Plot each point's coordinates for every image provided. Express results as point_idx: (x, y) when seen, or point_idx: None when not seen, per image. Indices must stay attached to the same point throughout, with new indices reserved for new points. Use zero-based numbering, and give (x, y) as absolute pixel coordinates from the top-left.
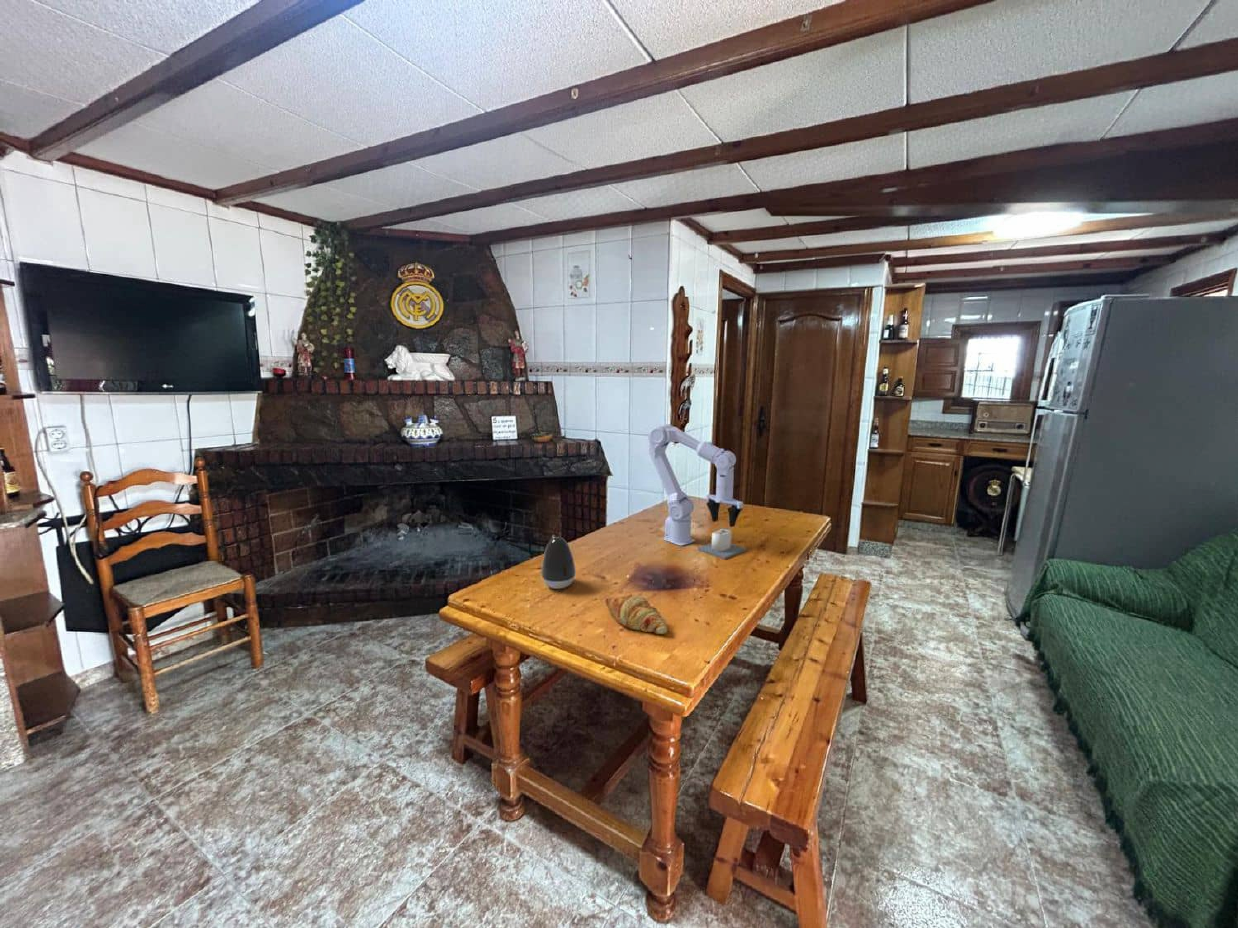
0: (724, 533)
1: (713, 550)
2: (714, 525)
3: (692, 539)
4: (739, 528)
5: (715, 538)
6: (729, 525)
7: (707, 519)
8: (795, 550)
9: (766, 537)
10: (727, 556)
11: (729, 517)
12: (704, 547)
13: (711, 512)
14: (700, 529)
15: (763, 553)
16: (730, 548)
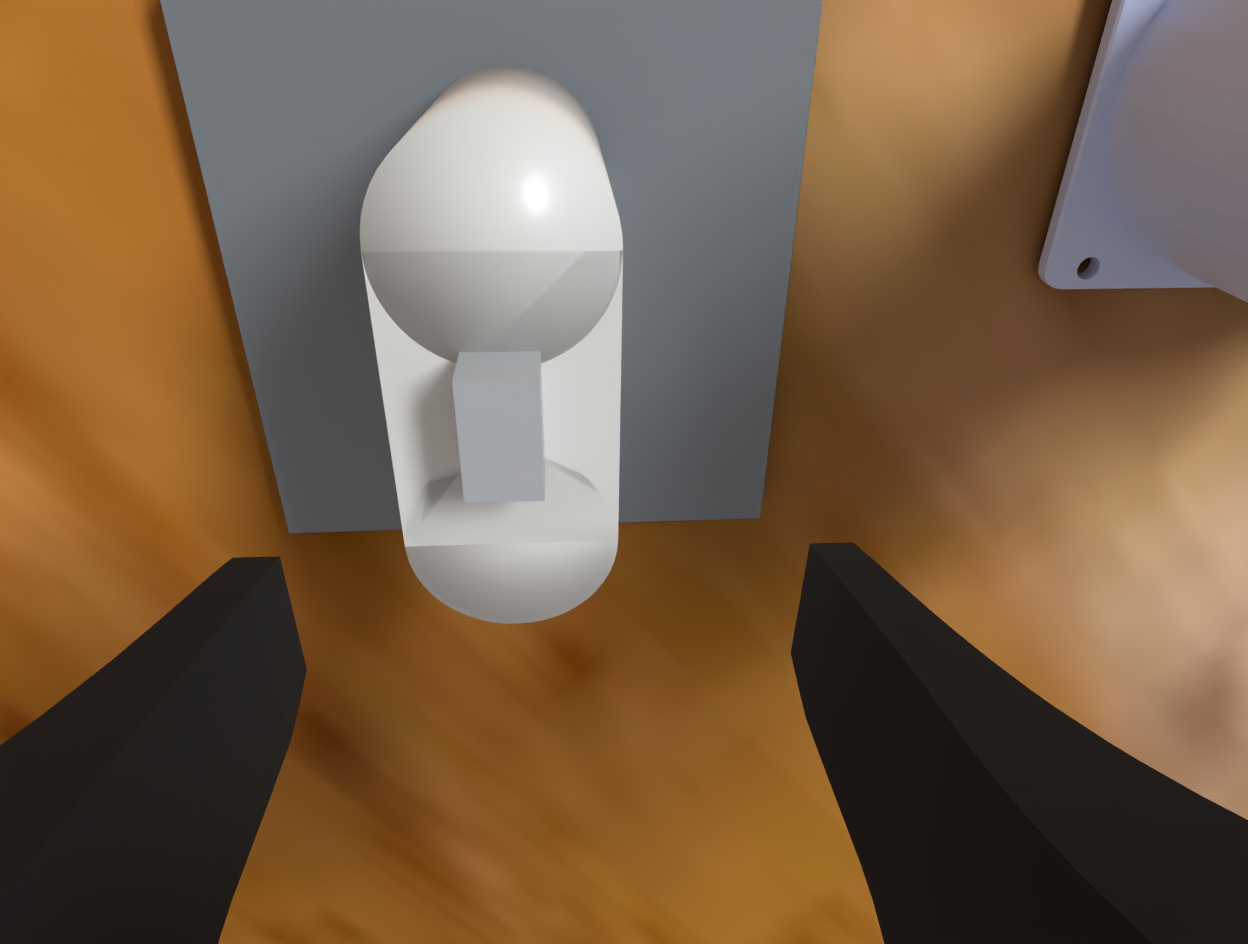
0: (407, 394)
1: (505, 66)
2: None
3: (1099, 263)
4: (816, 888)
5: (444, 108)
6: (265, 568)
7: None
8: None
9: (470, 894)
10: (174, 59)
11: (112, 736)
12: (738, 98)
13: (986, 701)
14: (1167, 638)
15: (105, 592)
16: None
